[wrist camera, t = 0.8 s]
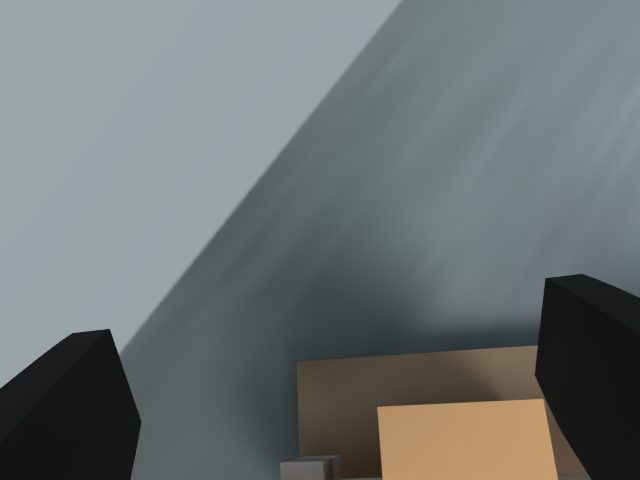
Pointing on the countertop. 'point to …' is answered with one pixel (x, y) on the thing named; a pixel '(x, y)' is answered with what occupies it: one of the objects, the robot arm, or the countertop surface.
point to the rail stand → (403, 404)
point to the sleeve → (466, 441)
